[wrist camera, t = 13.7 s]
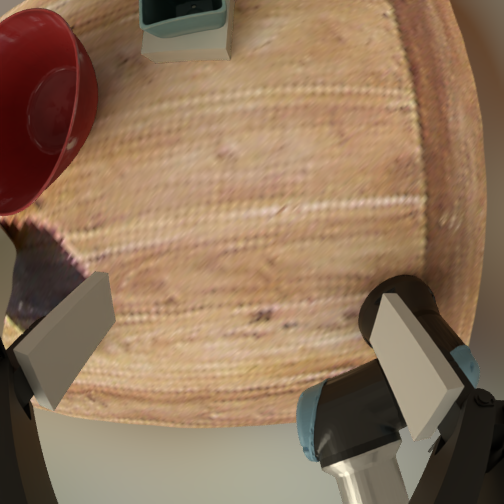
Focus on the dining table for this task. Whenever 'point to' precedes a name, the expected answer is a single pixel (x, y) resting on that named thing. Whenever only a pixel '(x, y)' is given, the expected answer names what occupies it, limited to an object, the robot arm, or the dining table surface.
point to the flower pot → (181, 16)
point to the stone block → (192, 43)
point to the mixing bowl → (41, 104)
